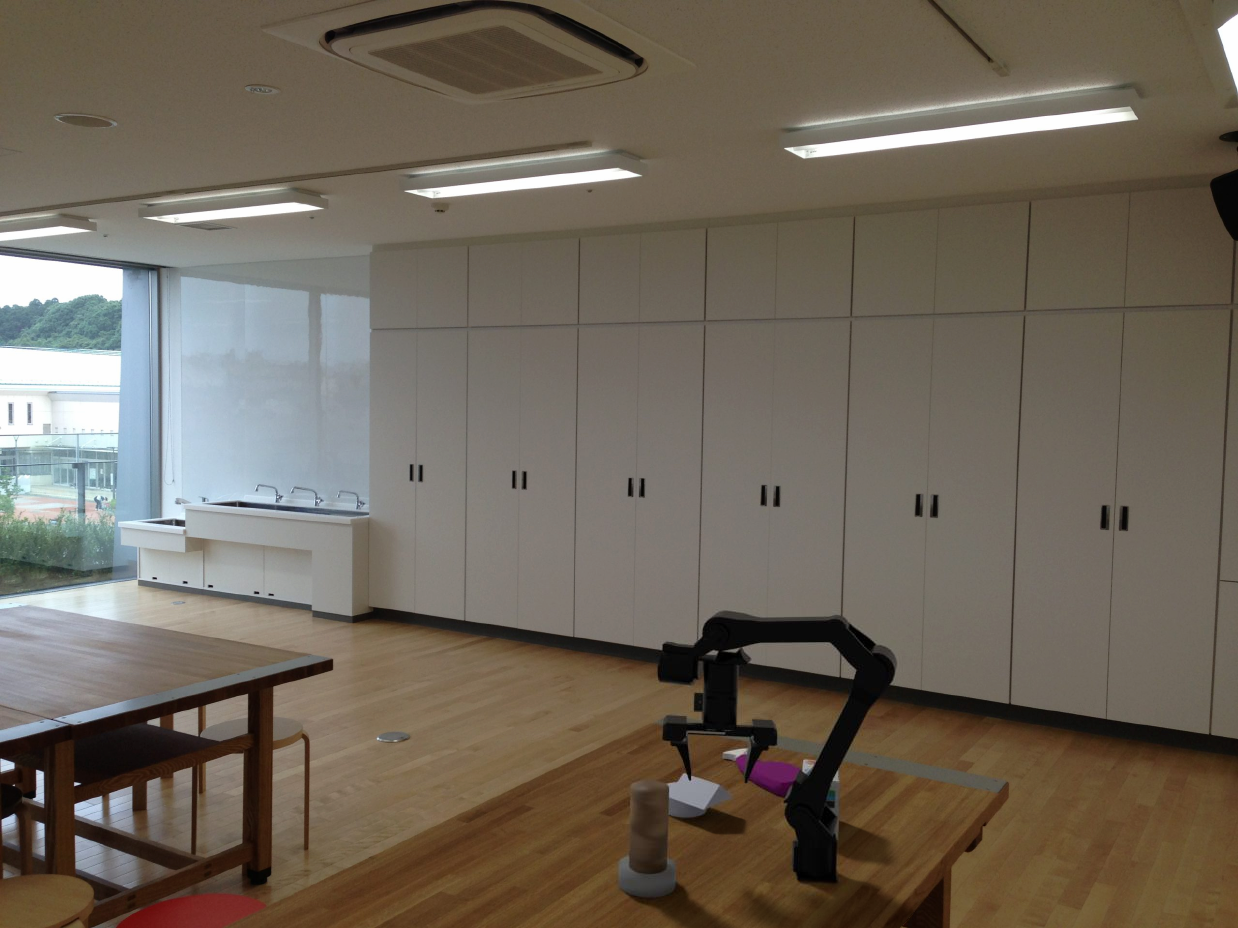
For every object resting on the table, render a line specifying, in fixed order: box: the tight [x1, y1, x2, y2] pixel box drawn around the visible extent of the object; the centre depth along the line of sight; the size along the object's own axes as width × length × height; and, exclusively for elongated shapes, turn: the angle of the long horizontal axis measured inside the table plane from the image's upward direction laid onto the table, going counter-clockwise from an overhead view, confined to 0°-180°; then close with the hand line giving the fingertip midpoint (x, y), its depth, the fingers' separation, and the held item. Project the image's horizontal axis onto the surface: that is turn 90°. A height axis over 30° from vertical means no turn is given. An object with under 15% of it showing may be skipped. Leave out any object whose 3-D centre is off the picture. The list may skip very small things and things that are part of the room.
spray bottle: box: [722, 747, 802, 797], centre depth 213 cm, size 3×11×24 cm
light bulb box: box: [801, 759, 841, 842], centre depth 185 cm, size 11×7×11 cm, turn 168°
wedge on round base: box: [666, 772, 735, 819], centre depth 191 cm, size 9×7×13 cm
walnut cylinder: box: [628, 779, 670, 874], centre depth 161 cm, size 6×6×12 cm
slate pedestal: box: [617, 855, 677, 899], centre depth 161 cm, size 9×9×3 cm
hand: (717, 781), depth 171 cm, fingers open, 9 cm apart
